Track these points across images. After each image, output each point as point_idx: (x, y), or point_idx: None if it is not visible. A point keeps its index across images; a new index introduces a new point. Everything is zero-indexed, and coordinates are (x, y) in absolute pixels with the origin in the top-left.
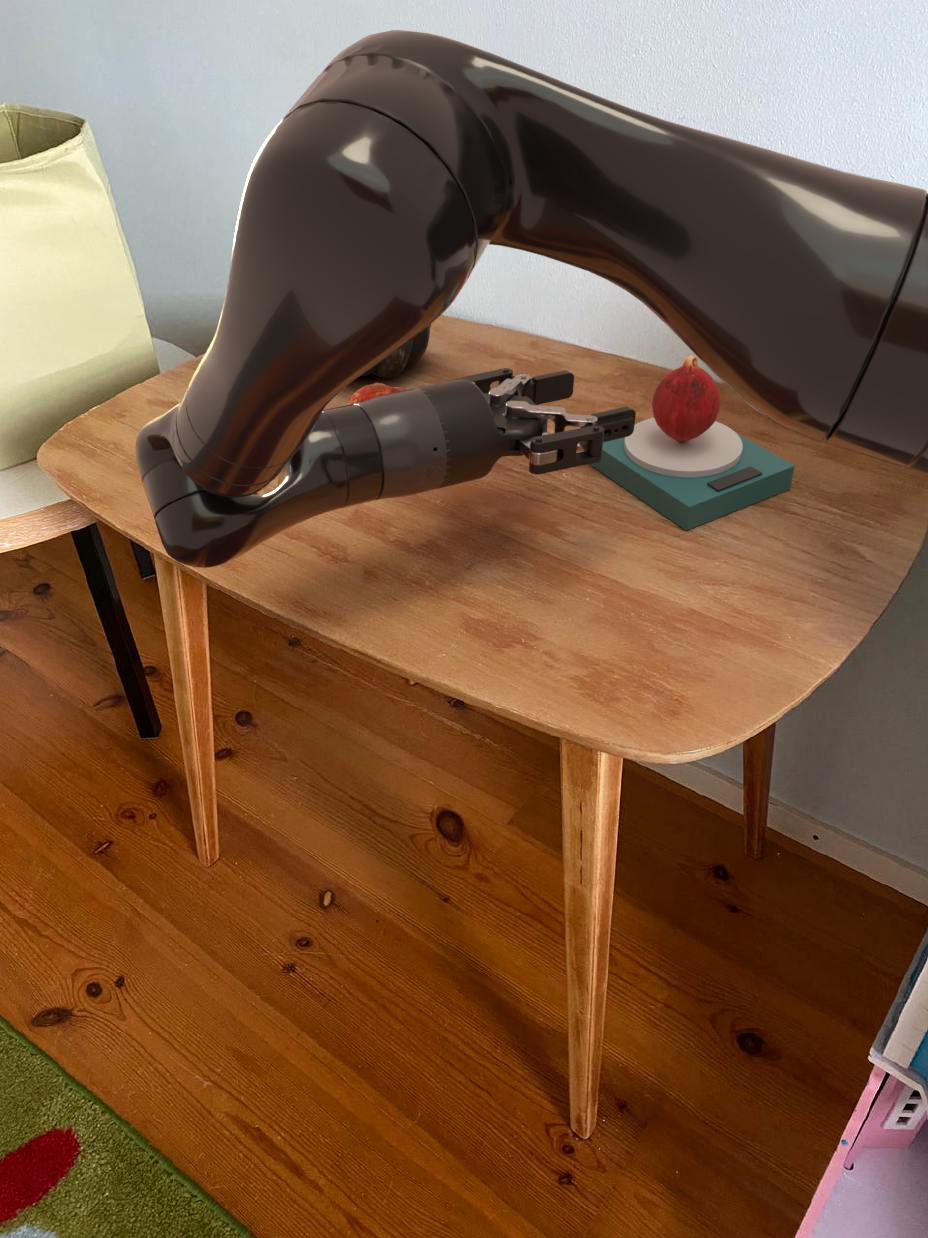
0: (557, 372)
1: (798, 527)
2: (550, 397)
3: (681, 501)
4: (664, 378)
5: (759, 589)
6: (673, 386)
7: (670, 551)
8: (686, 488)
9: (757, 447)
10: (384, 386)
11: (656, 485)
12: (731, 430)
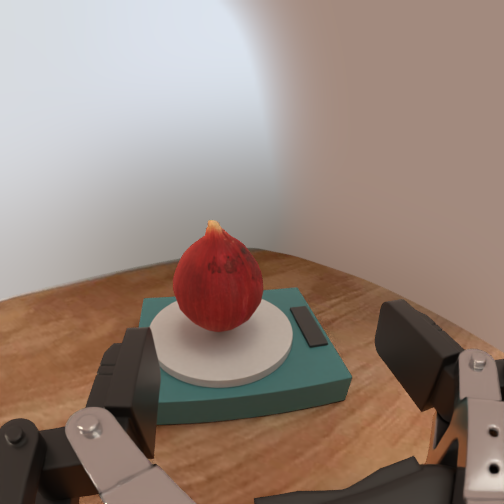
0: (124, 346)
1: (355, 325)
2: (154, 412)
3: (337, 379)
4: (194, 265)
5: None
6: (224, 265)
7: (381, 425)
8: (310, 365)
9: None
10: None
11: (291, 389)
12: None
